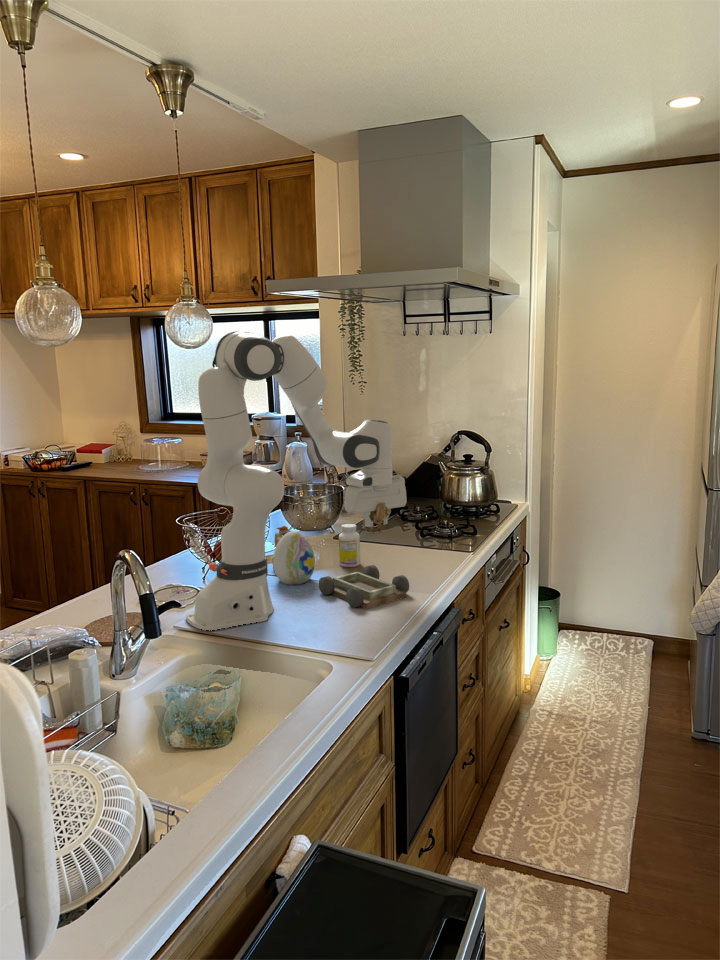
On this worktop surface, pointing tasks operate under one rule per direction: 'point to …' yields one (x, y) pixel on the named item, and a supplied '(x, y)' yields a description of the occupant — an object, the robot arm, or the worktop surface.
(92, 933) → the worktop surface
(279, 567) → the decorative egg
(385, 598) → the toy car chassis
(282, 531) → the toy helicopter
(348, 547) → the supplement bottle
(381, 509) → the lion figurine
